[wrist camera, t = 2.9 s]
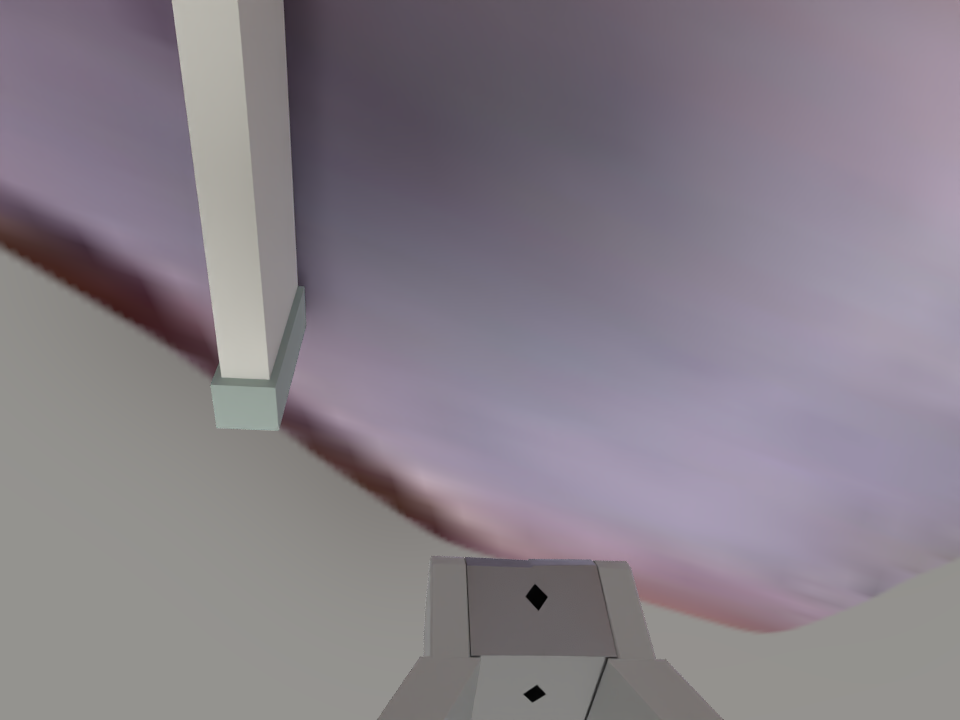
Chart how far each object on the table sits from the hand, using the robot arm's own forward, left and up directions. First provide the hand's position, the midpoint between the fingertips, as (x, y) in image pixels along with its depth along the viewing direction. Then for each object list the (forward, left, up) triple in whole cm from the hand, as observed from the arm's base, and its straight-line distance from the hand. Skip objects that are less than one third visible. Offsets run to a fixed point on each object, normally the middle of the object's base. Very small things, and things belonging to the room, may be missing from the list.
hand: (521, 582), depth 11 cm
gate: (-3, -7, -18) cm, 19 cm away
